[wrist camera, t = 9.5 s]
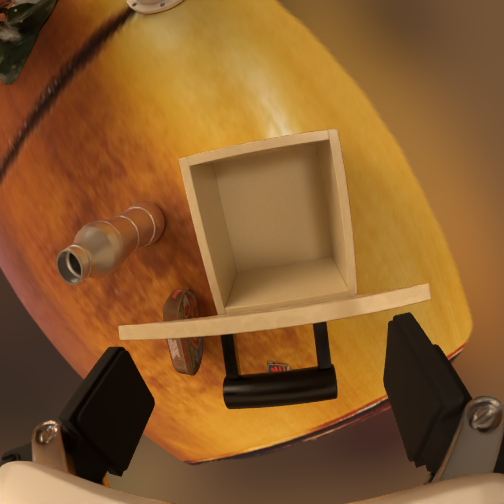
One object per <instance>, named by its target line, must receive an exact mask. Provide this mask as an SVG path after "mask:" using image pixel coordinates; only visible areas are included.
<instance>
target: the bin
mask: <svg viewBox="0 0 504 504" xmlns="http://www.w3.org/2000/svg"><path fill="white" fill-rule="evenodd" d="M179 164H180V168H181V173H182V177H183V182H184V186H185V190H186V195H187V199H188V203H189V207H190V212H191V216H192V220H193V224H194V228H195V232H196V236H197V240H198V244H199V248H200V252H201V255H202V259H203V263H204V267H205V271H206V274H207V278H208V282H209V285H210V289H211V292H212V296H213V299H214V303H215V306H216V310H217V313H218V315H226V314H234V313H243V312H251V311H259V310H266V309H273V308H281V307H288V306H294V305H301V304H307V303H314V302H320V301H326V300H332V299H338V298H343V297H349V296H355V295H357V280H356V264H355V251H354V240H353V230H352V221H351V212H350V204H349V196H348V189H347V182H346V175H345V169H344V163H343V157H342V151H341V145H340V140H339V135H338V130H337V129H329V130H321V131H314V132H306V133H300V134H293V135H287V136H281V137H275V138H270V139H264V140H259V141H254V142H249V143H244V144H239V145H234V146H230V147H225V148H221V149H217V150H212V151H208V152H204V153H200V154H196V155H192V156H188V157H185V158H181V159H179Z"/></svg>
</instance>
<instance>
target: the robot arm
mask: <svg viewBox="0 0 504 504" xmlns="http://www.w3.org/2000/svg"><path fill="white" fill-rule="evenodd" d="M182 1H183V0H127V3H128V5H129V6H130V7H131V8H132V9H133V10H135V11H136V12H139V13H144V14H151V13H157V12H161V11H164V10H167V9H169V8H172V7H174V6H175V5H177V4H179V3H180V2H182ZM383 381H384V387H385V390H386V393H387V395H388V398H389V401H390V404H391V407H392V409H393V413H394V416H395V418H396V421H397V425H398V427H399V431H400V434H401V437H402V440H403V443H404V446H405V450H406V453H407V456H408V459H409V461H414V462H415V466H416V468H417V467H420V466H423V465H426V468H427V471H429V472H430V473H429V475H428V477H427V479H426V481H425V482H424V484H423V485H422V486H418V487H415V488H411V489H407V490H404V491H400V492H396V493H392V494H389V495H384V496H380V497H376V498H372V499H367V500H362V501H357V502H351V503H345V504H504V405H503V404H502V403H501V401H499V400H498V399H496V398H494V397H491V396H480V397H476V398H475V399H472V397H471V396H470V394H469V392H468V391H467V389H466V387H465V386H464V384H463V383H462V381H461V379H460V378H459V376H458V374H457V373H456V371H455V369H454V368H453V366H452V365H451V363H450V362H449V360H448V359H447V357H446V356H445V354H444V353H443V351H442V350H441V348H440V347H439V346H438V345H436V344H434V345H433V344H432V343H431V341H430V340H429V338H428V337H427V335H426V334H425V332H424V331H423V329H422V328H421V327H420V325H419V324H418V322H417V321H416V319H415V318H414V316H413V315H412V314H411V313H410V312H408V313H404V314H400V315H395V316H394V317H393V321H389V323H388V335H387V348H386V359H385V368H384V377H383ZM154 405H155V401H154V398H153V396H152V394H151V393H150V391H149V389H148V387H147V386H146V384H145V382H144V380H143V378H142V377H141V375H140V373H139V371H138V369H137V367H136V365H135V363H134V361H133V359H132V358H131V356H130V354H129V352H128V351H126V350H125V349H124V348H123V347H109V348H108V349H107V350H106V351H105V352H104V354H103V355H102V356H101V358H100V359H99V360H98V362H97V363H96V364H95V366H94V367H93V368H92V370H91V371H90V372H89V374H88V375H87V377H86V378H85V379H84V381H83V382H82V383H81V385H80V386H79V388H78V389H77V390H76V392H75V393H74V395H73V396H72V398H71V399H70V400H69V402H68V403H67V405H66V406H65V408H64V409H63V410H62V412H61V413H60V415H59V416H58V418H59V420H60V421H61V422H62V425H61V426H60V425H59V424H58V423H57V422H56V421H54V420H47V421H44V422H42V423H40V424H39V425H38V426H37V427H36V428H35V429H34V431H33V433H32V442H30V443H28V444H25V445H23V446H20V447H17V448H15V449H12V450H10V451H8V452H6V453H4V454H3V456H2V457H1V461H0V504H175V503H169V502H164V501H159V500H154V499H150V498H145V497H141V496H137V495H133V494H129V493H126V492H122V491H119V490H115V489H112V488H110V485H109V482H108V479H107V476H106V472H107V471H108V472H109V473H110V474H113V475H117V476H122V474H123V471H125V470H127V468H128V466H129V464H130V461H131V459H132V457H133V454H134V452H135V450H136V447H137V445H138V443H139V440H140V438H141V436H142V433H143V431H144V429H145V426H146V424H147V422H148V420H149V417H150V415H151V413H152V411H153V408H154Z"/></svg>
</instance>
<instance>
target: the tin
mask: <svg viewBox="0 0 504 504" xmlns="http://www.w3.org/2000/svg"><path fill="white" fill-rule="evenodd" d="M193 318H200V317H199V310H198V302H197V298H196V295H195V293H194V292H193V291H192V290H175V291H173V292H172V293H171V295H170V296H169V297H168V299H167V301H166V303H165V307H164V313H163V322H167V321H176V320H185V319H193ZM166 340H167V344H168V348H169V352H170V356H171V360H172V364H173V367H174V369H175V370H176V371H177V372H179V373H182V374H188V375H191V376H193V375H195V374H196V373H197V371H198V370H199V367H200V364H201V360H202V354H203V337H188V338H172V339H166Z"/></svg>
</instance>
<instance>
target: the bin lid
mask: <svg viewBox="0 0 504 504" xmlns="http://www.w3.org/2000/svg"><path fill="white" fill-rule="evenodd" d="M427 300H431V295H430V288H429V283H427V284H421V285H416V286H410V287H405V288H399V289H393V290H387V291H380V292H374V293H367V294H361V295H355V296H349V297H343V298H338V299H332V300H326V301H320V302H314V303H307V304H301V305H294V306H288V307H281V308H273V309H266V310H259V311H251V312H243V313H234V314H226V315H217V316H209V317H201V318H193V319H185V320H176V321H167V322H157V323H147V324H136V325H124V326H118V328H119V336H120V340H151V339H172V338H188V337H202V336H215V335H221V341H222V349H223V356H224V363H225V370H226V377H225V379H224V382H223V397H224V402H225V405H226V407H227V408H228V409H244V408H262V407H274V406H285V405H294V404H303V403H311V402H318V401H324V400H331V399H336V398H337V380H336V373H335V368H334V365H333V364H331V358H330V349H329V340H328V332H327V324H326V321H332V320H337V319H343V318H349V317H354V316H359V315H364V314H369V313H374V312H379V311H384V310H389V309H393V308H398V307H402V306H407V305H411V304H415V303H419V302H423V301H427ZM307 324H313V329H314V337H315V345H316V354H317V362H318V366H316V367H309V368H302V369H294V370H286V371H277V372H268V373H257V374H245V375H241V371H240V364H239V357H238V350H237V342H236V335H235V334H236V333H245V332H254V331H263V330H271V329H279V328H286V327H293V326H300V325H307Z"/></svg>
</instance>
